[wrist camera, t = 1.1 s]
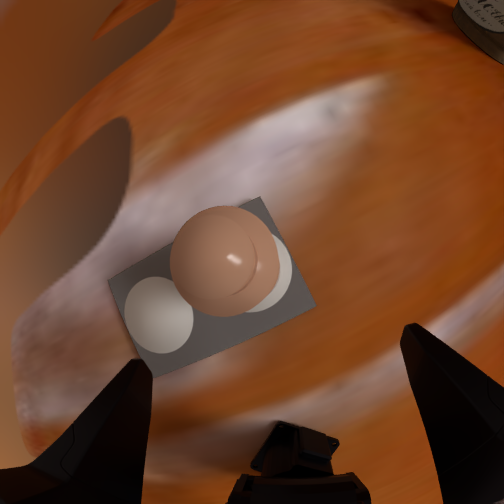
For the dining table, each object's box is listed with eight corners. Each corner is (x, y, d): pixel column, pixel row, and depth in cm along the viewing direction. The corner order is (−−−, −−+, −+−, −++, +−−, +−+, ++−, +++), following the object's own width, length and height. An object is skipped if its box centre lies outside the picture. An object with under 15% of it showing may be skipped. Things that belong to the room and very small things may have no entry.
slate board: (260, 199, 24) (259, 196, 23) (315, 304, 22) (316, 305, 21) (113, 280, 25) (107, 280, 24) (155, 375, 23) (151, 379, 22)
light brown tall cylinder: (264, 311, 22) (243, 345, 10) (208, 284, 23) (133, 287, 11) (290, 253, 22) (299, 222, 10) (233, 228, 23) (183, 176, 11)
